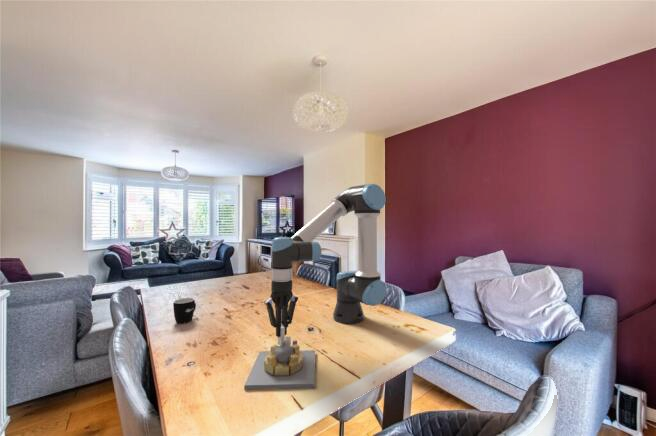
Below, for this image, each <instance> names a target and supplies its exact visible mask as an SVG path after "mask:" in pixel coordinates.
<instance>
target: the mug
mask: <svg viewBox="0 0 656 436" xmlns="http://www.w3.org/2000/svg"><path fill="white" fill-rule="evenodd" d="M172 305H173V316H174V320H175V323H176V324H179V325H184V324H189V323H190V322H192V320H193V318H194V313H195V310H196V307H197V304H196V301H195V298H193V297H183V298H178V299H175V300H174V301H173V304H172Z"/></svg>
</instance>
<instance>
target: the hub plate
mask: <svg viewBox="0 0 656 436" xmlns="http://www.w3.org/2000/svg"><path fill="white" fill-rule="evenodd" d="M295 344H296V345H298V340H293V341H292V345H290V346H288V345H283V346H280V345H278V346H279V347H277V348H276V349H275V356H276V363H289V356H291V355H293V347H291V346H293V345H295ZM299 351H300V352H302V354H303V365H302V368H301V369H300V370H299V371H297V372H295V373H293V374H289V375H280V376H275V374H274V375H272V374H270V373H268V372H267V371H265V369H264V360H265V358H266V355H268V353H270V352H271V350H264V351H263V350H260V351H259V352H258V354H257V357H256V359H255V361H254V363H253V366H252V367H251V370H250V372H249V373H248V376H247V379H246V381H245V383H244V387H243V389H244V390H276V389H277V390H281V389H282V390H283V389H284V390H285V389H286V390H287V389H315V374H316V372H315V371H316V350H314V349H313V350H311V349H309V350H308V349H307V350H299Z"/></svg>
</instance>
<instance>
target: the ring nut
mask: <svg viewBox="0 0 656 436" xmlns="http://www.w3.org/2000/svg"><path fill="white" fill-rule="evenodd" d="M291 338H292V337H291V336H285V342H284V345H288V346H291V347H293V355H291V356H289V363H276V356H275V349H276V348H277V347H279V346H280V345H277V344H274V345H271V346H270V351H271V352H270V353H268V355H266V358H265V360H264V369H265V371H267V372H268V373H270V374H272V375H274V374H275V376H280V375H289V374H293V373H295V372H297V371H299V370H300V369H301V368H302V365H303V354H302V352H300V351H301V350H300V345H298V344H297V345H296V344H295V345H293V344H292V341H291ZM291 344H292V345H291Z"/></svg>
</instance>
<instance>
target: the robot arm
mask: <svg viewBox="0 0 656 436" xmlns="http://www.w3.org/2000/svg"><path fill="white" fill-rule="evenodd" d="M386 201H387V200H386V193H385V191H384V189H382V187H381V186H380V185H378V184H375V183H366V184H361V185H357V186H356V185H355V186H350V187H348V188H346V189H345V190H343V191H342V192H341V193H339V194H338V195H337V196H335V197H334V199H332V200H331V202H330V205H328V206H327V207H326V208H325V209H323V210H322V211H321V212H320V213H319V214H317V215H316V216H315V217H313V219H312V220H310V221H309V222H308V223H307V224H305V225H304V226H303V227H301V229H299V230H298V231H296V233H294V235H292V236H291V237H290V236H289V237H288V236H287V237H285V236H283V237H281V236H280V237H273V239H272V241H271V249H270V250H271V287H270V288H271V289H270V291H271V294H270V296H269V299H267V300H264V301H263V303H264V306H265V307H266V310H267V314H268V318H269V323H270V325H271V327H272V328H275V336H276V337H277V344H278V346H283V345H284V342H285V338H286V336H287V332H288V330H287V329H288V327H289V325H291V324H292V322H293V319H294V313H295V309H296V305H297V302H298V300H299V297H298V296H296V295H294V294H293V280H292V279H293V264H294V263H302V262H314V261H319V260H320V259H321V257H322V247H321V244H320V243H319V242H318V241H314V240H316V239H317V238H318V237H319V236H320V235H322V234H323V233H324V232H325V231H326V230H327V229H328V228H330V226H332V225H333V224H334V223H335V222H337V220H339V219H340V218H342V217H345V216H346V215H347V214H348V213H351V212H354V215H355V217H356V218H357V270H346V271H344V270H343V271H340V272H338V273H337V274H336V280H335V281H336V304H335V307H334V310H333V312H332V316H333V317H332V318H333V320H334V321H336V322H338V323H341V324H357V323H361V322H363V321H364V320H365V315H364V313H365V312H364V310H363V307H362V304H364V305H366V306H370V307H375V306H378V305H380V304H381V303H382V301H383V300H384V299H385V297H386V294H387V285H386V284H385V282H384V281H382V280H381V276H382V275H381V273H380V272H379V271H378V231H377V230H378V217H379V216H380V215H381V209H383V208H384V206H385V205H386ZM361 303H362V304H361ZM273 305H274V306H273ZM274 308H275V309H274ZM274 310H275V311H274Z"/></svg>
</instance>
